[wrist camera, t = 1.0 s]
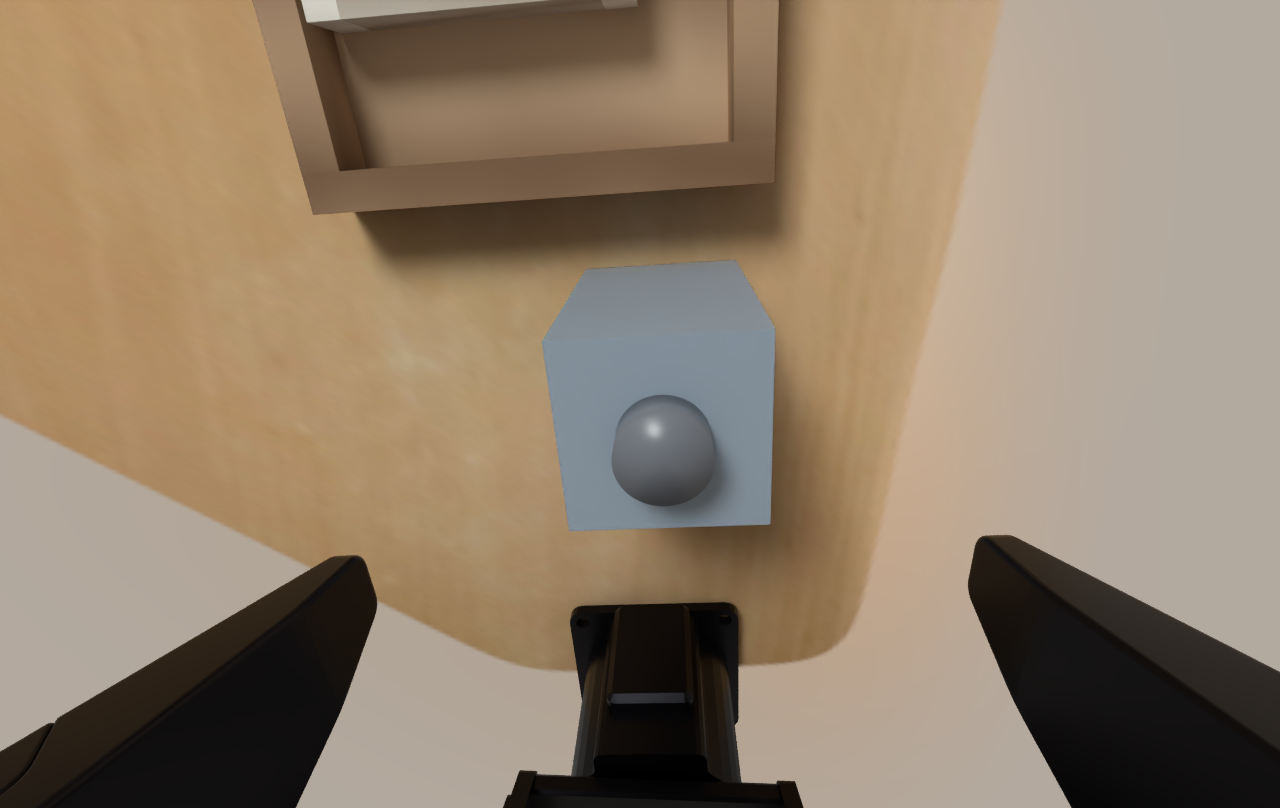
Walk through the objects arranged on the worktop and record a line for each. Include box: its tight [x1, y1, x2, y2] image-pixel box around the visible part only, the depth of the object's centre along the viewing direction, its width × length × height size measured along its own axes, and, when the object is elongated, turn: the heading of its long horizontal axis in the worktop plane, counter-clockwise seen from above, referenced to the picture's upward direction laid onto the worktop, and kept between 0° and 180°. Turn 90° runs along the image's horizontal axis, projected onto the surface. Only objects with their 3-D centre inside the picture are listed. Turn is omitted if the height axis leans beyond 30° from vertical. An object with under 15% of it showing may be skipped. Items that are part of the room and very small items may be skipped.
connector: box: [542, 260, 775, 531], centre depth 15 cm, size 4×4×8 cm
